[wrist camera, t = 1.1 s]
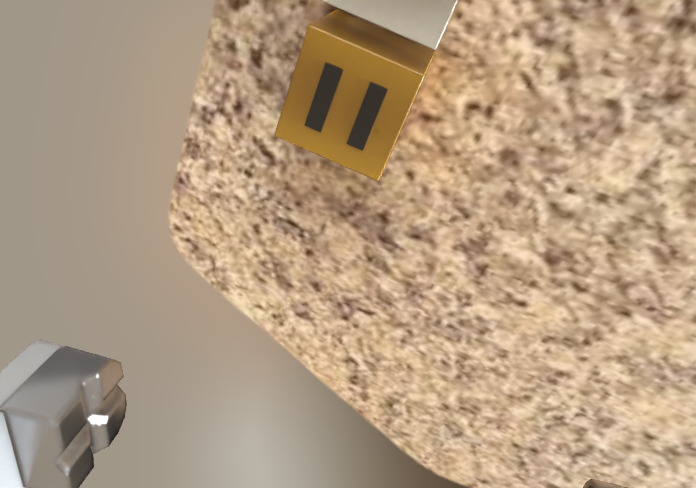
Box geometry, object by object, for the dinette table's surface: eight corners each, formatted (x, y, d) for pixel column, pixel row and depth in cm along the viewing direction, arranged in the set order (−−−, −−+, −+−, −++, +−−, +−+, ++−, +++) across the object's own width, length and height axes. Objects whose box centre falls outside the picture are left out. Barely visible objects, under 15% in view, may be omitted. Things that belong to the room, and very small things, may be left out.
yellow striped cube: (394, 145, 27) (377, 183, 23) (304, 105, 27) (272, 137, 23) (435, 51, 24) (425, 75, 21) (336, 8, 25) (307, 24, 21)
